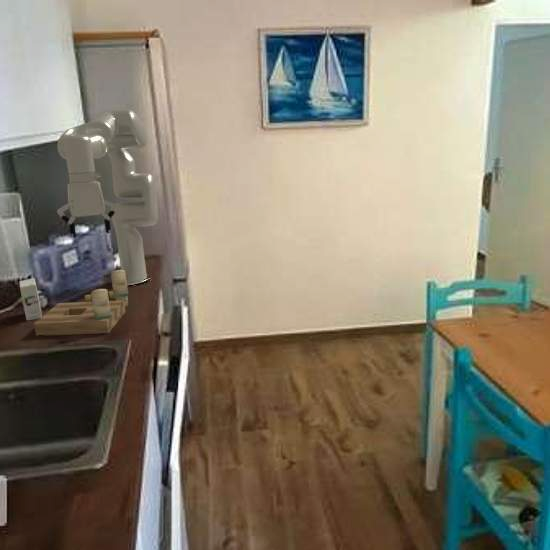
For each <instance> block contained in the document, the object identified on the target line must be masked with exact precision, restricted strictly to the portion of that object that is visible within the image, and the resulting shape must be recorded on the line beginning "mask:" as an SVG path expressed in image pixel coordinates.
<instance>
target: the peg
mask: <svg viewBox="0 0 550 550" xmlns="http://www.w3.org/2000/svg"><path fill="white" fill-rule="evenodd" d="M110 277H111V285H112V291H113V294H114V296H115V298H116V301H124V305H125V307H128V306H129V299H128V297H129V296H128V295H129V290H128V288H129V287H128V286H127V281H126V273H125V271H124V270H121V269H117V270H114V271H113V270H112V271H110Z"/></svg>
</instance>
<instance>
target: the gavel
mask: <svg viewBox="0 0 550 550" xmlns="http://www.w3.org/2000/svg"><path fill="white" fill-rule="evenodd" d="M97 289H102V287H100V286H96V287H95V288H94V290H97ZM108 298H109V301H116V298H115V296H114V294H113V290H111V291H108ZM84 299H85V300H84V302H92V297H91V293H90V294H89V293H88V294H85V295H84Z"/></svg>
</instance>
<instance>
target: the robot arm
mask: <svg viewBox="0 0 550 550" xmlns="http://www.w3.org/2000/svg"><path fill="white" fill-rule="evenodd" d="M147 143H148V133H147V130H146V128H145V126H144V124H143V122H142V121H141V119H140V117H139V116H138V115H137V114H136V113H135V112H134V111H133V110H131V109H129V108H128V109H126V108H125V109H124V108H123V109H106V110H102V111H100V112H98V114H97V115H95V117H94V118H93V119H91V121H87V122H85V123H82V124H80V125H77V126H76V125H75V126H74V127H70V128H69V129H66V130H65V131H64V132H63V133H62V134H61V135H60V136H59V138H58V141H57V151H58V154H59V155H60V157H61V158H62V159H64V160H66V166H67V171H68V177H69V183H67V201H68V202H67V203H66V204H65V205H63V206H61V207H60V208H58V209H57V210H56V213H57V214H58V216H59V217H60V218H61V219H62V220H63V221H64V222H65V223H67V224H68V227H69V232H70V235H73V238H76V237H77V232H76V227H75V223H74V221H75V220H76V219H77V218H85V217H95V216H102V217H104V218H103V219H104V220H103V222H104V230H105V233H106V234H109V233H110V230H111V222H110V220H112V224H113V227H114V231H115V236H116V241H117V243H116V244H117V249H118V256H119V265H120V270H124V271H125V273H126V281H127V287H128V286H129V285H133V286H135V285H134V284H138V283H141V282H144V281H146V280H148V279H150V278H148V279H146V278H147V275H148V274H147V268H146V267H147V266H146V260H145V251H144V242H143V237H142V234H141V233H140V232H139V231H138V229H137V227H139V228H140V227H153V226H155V225H156V224H157V223H158V220H159V209H158V207H159V205H158V193H157V183H156V180H155V177H154V176H153V175H152V174H151V173H149V172H138V173H137V172H136V162H135V158H134V157H133V156H132V154H130V153H129V151H128V150H127V149H141V148H144V147H145V146H146V145H147ZM106 154H107V155H108V157H109V159H110V161H111V169H112V171H111V173H112V185H113V193H114V195H115V197H116V198H118V199H121V200H122V199H123V200H127V199H131V200H133V199H143V200H144V201H129V202H127V201H125V202H118V203H114V202H111V201H108V200H106V199H104V195H103V190H102V186H101V183H100V181H98V180H97V179H99V178H100V179H101V178H102V174H101V173H100V172H96V167H95V161H94V160H99V159H102V158H103V157H105V156H106ZM106 206H107V207H110V210H109V212H108V213H107V212H106ZM68 209H69V214H70V215H69V217H68V216H67V215H65V213H64V212H65V211H67V210H68ZM144 279H145V280H144Z"/></svg>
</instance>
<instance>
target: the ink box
mask: <svg viewBox="0 0 550 550" xmlns="http://www.w3.org/2000/svg"><path fill="white" fill-rule="evenodd" d="M19 289H20V290H19V291H20V294H21V300H22V301H21V302H22V305H23V310H24V314H25V319H26V321H31V320H39V319H40V318H41V317H43V313H42V308H41V304H40V303H41V302H40V298H39V292H38V287H37V284H36V279H35V278H28V279H24V280H19Z"/></svg>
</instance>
